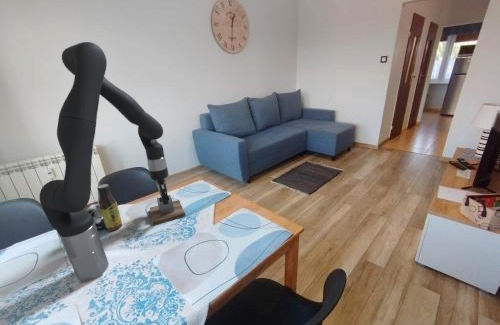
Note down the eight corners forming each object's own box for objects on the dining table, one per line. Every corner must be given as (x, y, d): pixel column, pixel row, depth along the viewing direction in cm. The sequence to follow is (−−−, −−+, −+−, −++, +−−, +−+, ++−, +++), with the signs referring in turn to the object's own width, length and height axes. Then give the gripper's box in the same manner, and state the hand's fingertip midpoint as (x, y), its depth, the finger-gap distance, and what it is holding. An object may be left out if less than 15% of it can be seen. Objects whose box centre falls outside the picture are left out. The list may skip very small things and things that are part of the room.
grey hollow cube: (174, 211, 108) (172, 200, 106) (160, 215, 105) (158, 203, 103) (172, 205, 113) (169, 194, 111) (159, 209, 110) (156, 198, 108)
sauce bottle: (117, 231, 98) (104, 189, 91) (103, 232, 98) (89, 190, 91) (125, 222, 104) (114, 182, 97) (112, 222, 105) (99, 183, 97)
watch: (88, 234, 97) (80, 212, 93) (97, 223, 105) (90, 202, 101) (102, 232, 98) (94, 210, 94) (110, 221, 105) (103, 200, 102)
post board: (185, 215, 107) (182, 201, 104) (153, 225, 101) (149, 210, 98) (179, 202, 118) (176, 189, 116) (150, 210, 113) (146, 196, 110)
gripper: (169, 170, 97) (175, 204, 102) (164, 160, 109) (170, 191, 114) (150, 174, 94) (157, 209, 99) (147, 164, 106) (154, 195, 111)
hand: (164, 199), depth 107 cm, fingers open, 8 cm apart
